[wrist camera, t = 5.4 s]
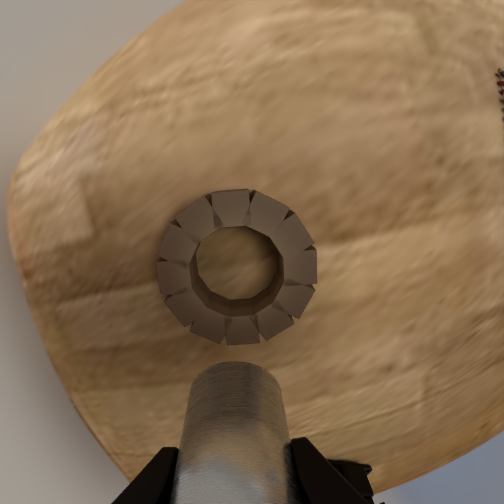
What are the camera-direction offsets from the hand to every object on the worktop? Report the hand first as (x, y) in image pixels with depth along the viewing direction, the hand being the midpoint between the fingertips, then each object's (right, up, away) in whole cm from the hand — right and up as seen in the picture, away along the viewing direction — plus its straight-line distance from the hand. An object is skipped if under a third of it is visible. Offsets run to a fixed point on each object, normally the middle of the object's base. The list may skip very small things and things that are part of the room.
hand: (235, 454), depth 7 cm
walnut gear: (0, +5, +12) cm, 13 cm away
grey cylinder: (0, +1, +2) cm, 2 cm away
